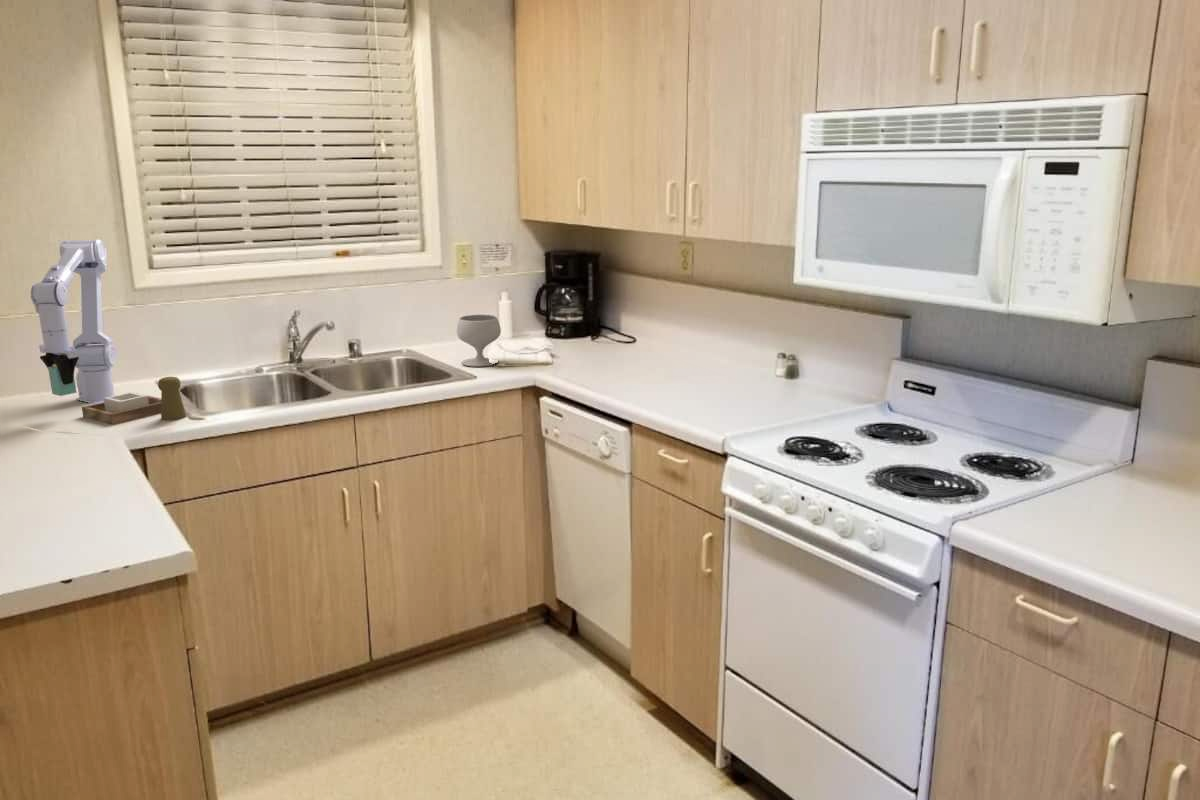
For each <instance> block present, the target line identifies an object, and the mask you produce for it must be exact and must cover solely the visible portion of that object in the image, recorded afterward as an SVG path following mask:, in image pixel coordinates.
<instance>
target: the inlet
mask: <svg viewBox="0 0 1200 800" xmlns="http://www.w3.org/2000/svg"><path fill="white" fill-rule="evenodd" d="M115 395H116V396H111V397H107V398H104V404H105V410H106V412H110V413H117V412H121V411H125V410H129V409H133V408H138V407H142V406H146V405H149V403H148V396H149V395H147V394H143V395H142V394H141V393H138V392H132V391H130V392H125V393H121V394H115Z"/></svg>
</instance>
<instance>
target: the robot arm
mask: <svg viewBox="0 0 1200 800" xmlns="http://www.w3.org/2000/svg"><path fill="white" fill-rule="evenodd" d="M59 255H60V259H59V261H58V263H57V265H56V264H55V265H51V267H50V268H49V270H48V271H47V273H46V274H45V275H44V277H43V278H42V280H41V282H36V283H35V284H34V285H32V286H31V289H30V299H31V302H32V304H33V306H34V308H35V312H36V313H37V314H38V317H39V323H40V329H41V336H42V340H43V344H39V345H38V347H39V352H40V353H42V354H44V355H40V356H39V359H40V360H41V361H42V362H43V363H44V365H45V366H46V369H48V367H52V366H53V364H56V366H57V368H58V370H59V373H60V376H61V380H62V382H63V384H64V385H66V384H71V383H73V378H74V379H75V378H76V379H75V381H76V385H77V386H76V387H77V392H78V397H77V398H76V399H75V400H77V401H79V400H80V401H79V402H83V401H84V403H87V402H88V404H92V405H94V404H98V403H102V402H104V398H107V397H111V396H116V395H117V394H115V390H114V383H113V375H112V367H114V365H115V363H116V362H117V361H116V360H117V353H116V350H115V341H114V340H113V338H111V337H109V336H107V335H106V334H105V333H103V304H102V274H103V273H104V272H106V271H107V266H108V263H107V262H108V261H107V258H108V257H107V249H106V246H105V244H104V243H103V242H102V240H101V239H90V240H89V239H87V240H85V239H84V240H83V239H82V240H68V239H64V240H62V242H61V243H60V245H59ZM73 273H75V274H78V275H79V277H80V285H81V287H80V291H81V300H80V301H81V327H82V328H81V334H80V335H78V336H77V337H76V338H74V339H73V341H72V345H71V342H70V335H69V328H68V323H67V315H66V310H65V304H66V303H67V300H68V292H69V290H68V289H69V287H70V286H71V284H72V282H73V281H74V274H73ZM76 368H77V370H78V371H77V373H76V376H75V369H76Z"/></svg>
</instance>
